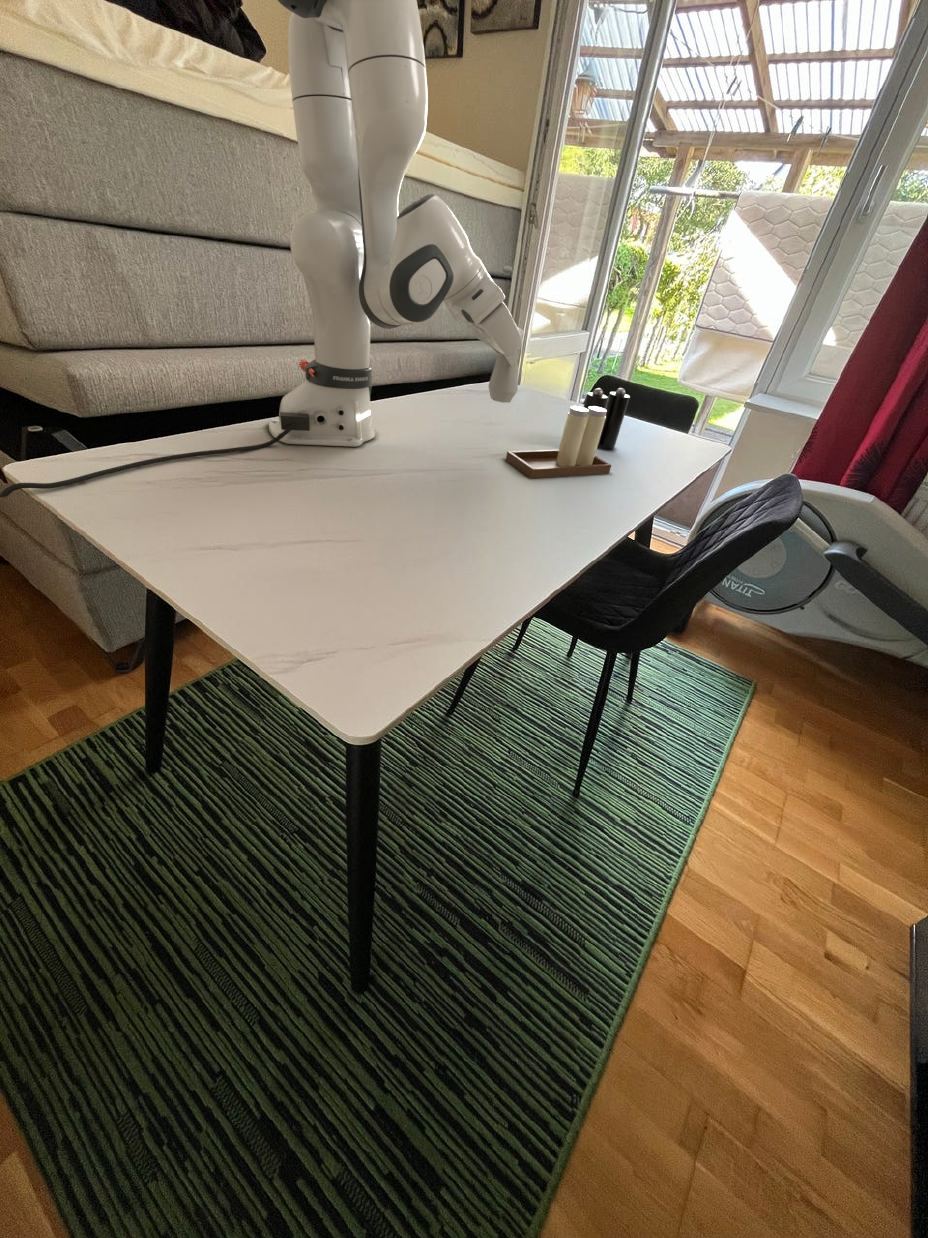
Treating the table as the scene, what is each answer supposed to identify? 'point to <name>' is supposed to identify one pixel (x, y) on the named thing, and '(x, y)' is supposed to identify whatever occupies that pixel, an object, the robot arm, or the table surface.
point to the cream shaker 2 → (591, 435)
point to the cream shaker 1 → (572, 436)
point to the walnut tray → (552, 464)
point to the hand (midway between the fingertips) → (510, 361)
